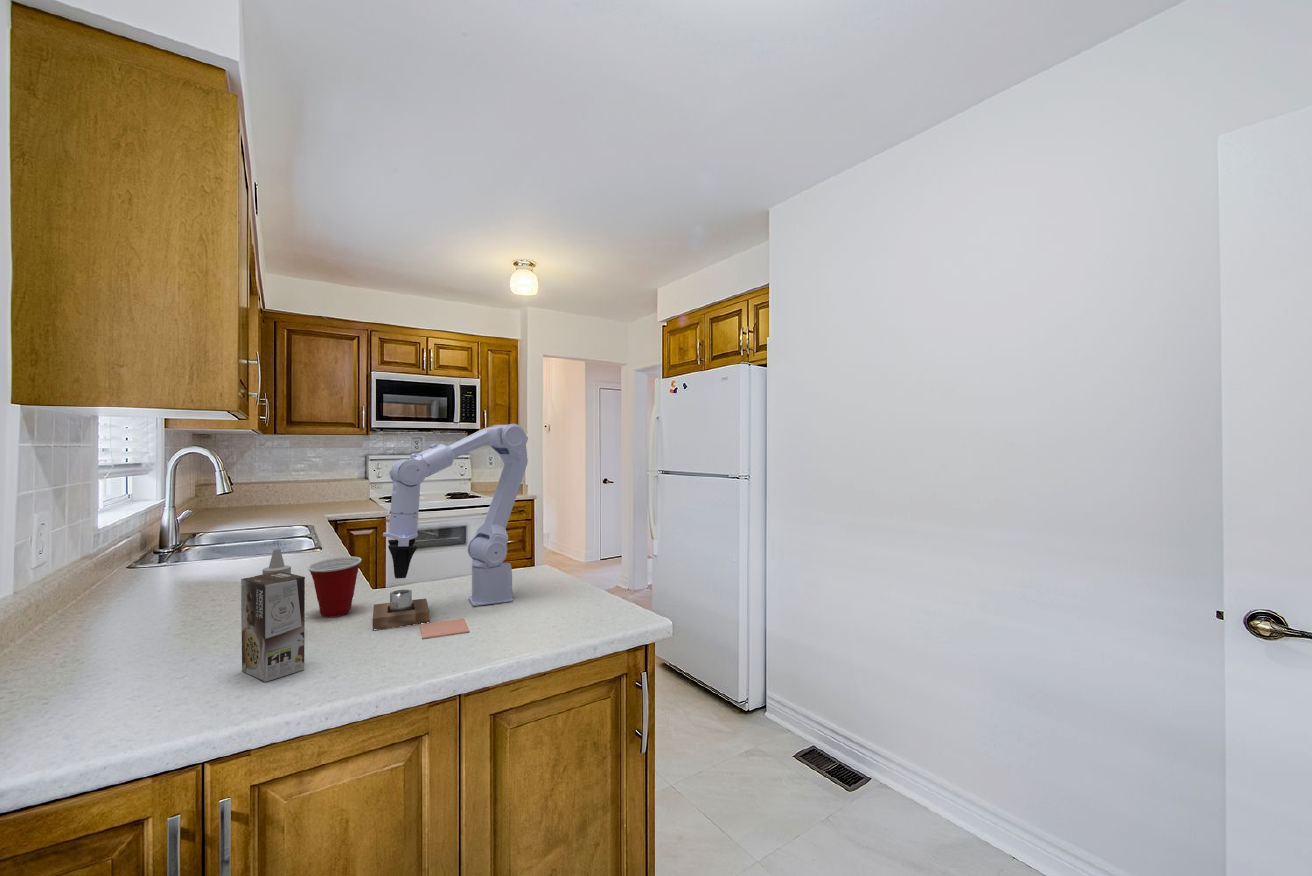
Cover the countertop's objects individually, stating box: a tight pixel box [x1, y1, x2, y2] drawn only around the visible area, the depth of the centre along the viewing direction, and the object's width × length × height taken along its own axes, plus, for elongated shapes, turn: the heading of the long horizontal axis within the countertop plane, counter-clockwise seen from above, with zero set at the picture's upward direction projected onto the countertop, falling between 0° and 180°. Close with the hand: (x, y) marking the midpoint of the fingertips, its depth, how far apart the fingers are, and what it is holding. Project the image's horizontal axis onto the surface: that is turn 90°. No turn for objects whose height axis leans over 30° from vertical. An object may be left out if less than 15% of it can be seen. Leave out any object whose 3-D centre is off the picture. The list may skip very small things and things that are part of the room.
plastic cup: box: [307, 556, 363, 618], centre depth 126 cm, size 11×11×12 cm
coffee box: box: [240, 571, 306, 683], centre depth 95 cm, size 9×6×16 cm
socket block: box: [372, 597, 431, 631], centre depth 122 cm, size 11×11×2 cm
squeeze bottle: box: [262, 548, 292, 574], centre depth 110 cm, size 8×8×18 cm
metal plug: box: [389, 589, 413, 613], centre depth 122 cm, size 4×4×6 cm
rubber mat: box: [419, 617, 471, 640], centre depth 116 cm, size 9×9×1 cm
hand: (400, 574), depth 122 cm, fingers open, 7 cm apart
